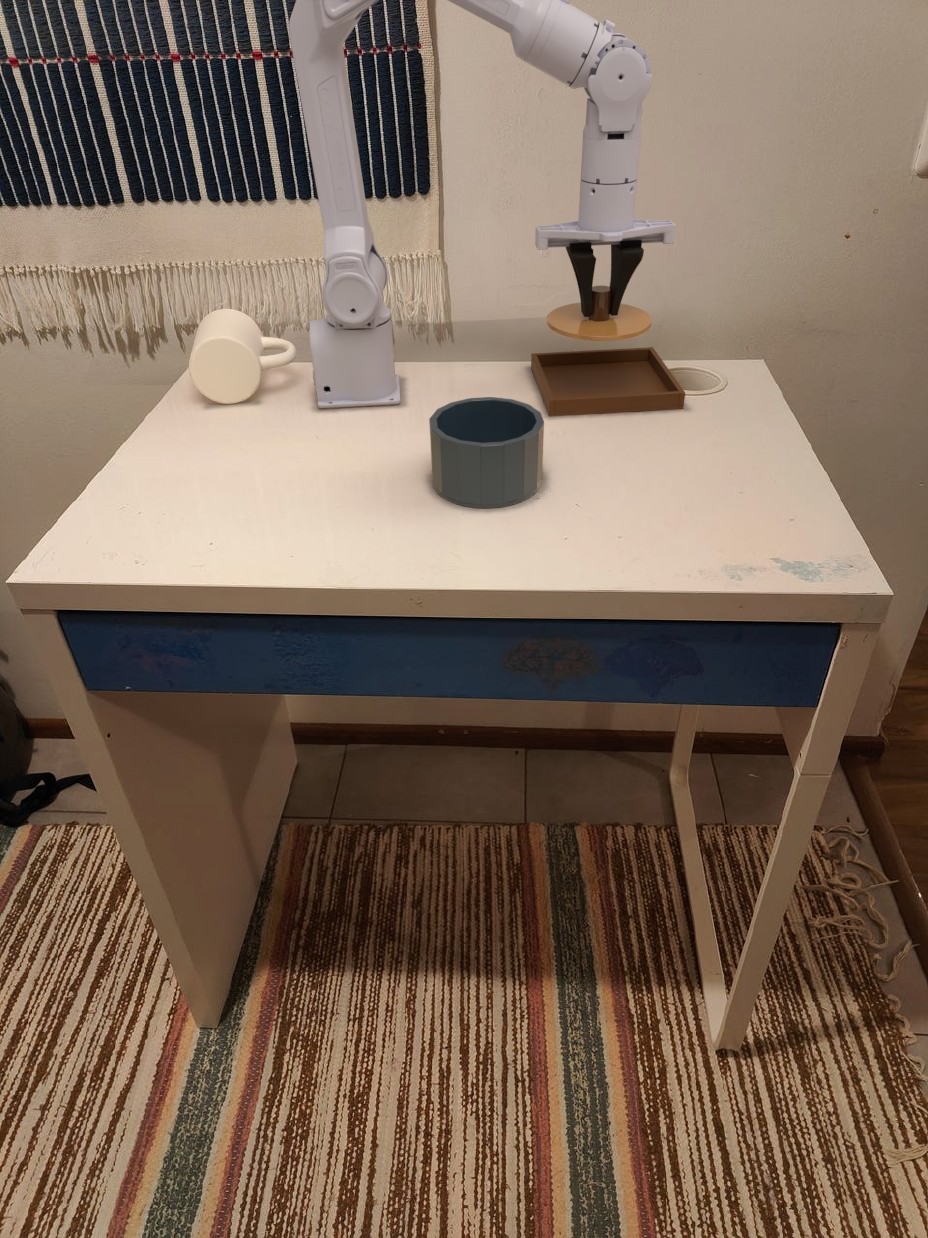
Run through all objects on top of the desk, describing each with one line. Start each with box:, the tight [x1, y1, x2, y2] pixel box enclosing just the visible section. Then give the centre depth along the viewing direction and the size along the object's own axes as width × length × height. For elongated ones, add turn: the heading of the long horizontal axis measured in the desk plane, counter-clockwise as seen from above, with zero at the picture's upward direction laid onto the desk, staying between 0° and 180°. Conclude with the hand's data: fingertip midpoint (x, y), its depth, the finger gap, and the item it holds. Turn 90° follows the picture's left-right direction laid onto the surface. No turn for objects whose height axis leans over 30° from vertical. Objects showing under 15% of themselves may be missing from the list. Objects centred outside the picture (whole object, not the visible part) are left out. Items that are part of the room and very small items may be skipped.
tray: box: [530, 346, 686, 417], centre depth 101 cm, size 15×14×2 cm
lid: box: [546, 285, 653, 342], centre depth 96 cm, size 12×12×4 cm
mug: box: [188, 308, 297, 405], centre depth 102 cm, size 12×10×8 cm
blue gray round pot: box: [428, 396, 545, 509], centre depth 82 cm, size 11×11×6 cm
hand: (599, 313), depth 96 cm, fingers closed on lid, 2 cm apart
